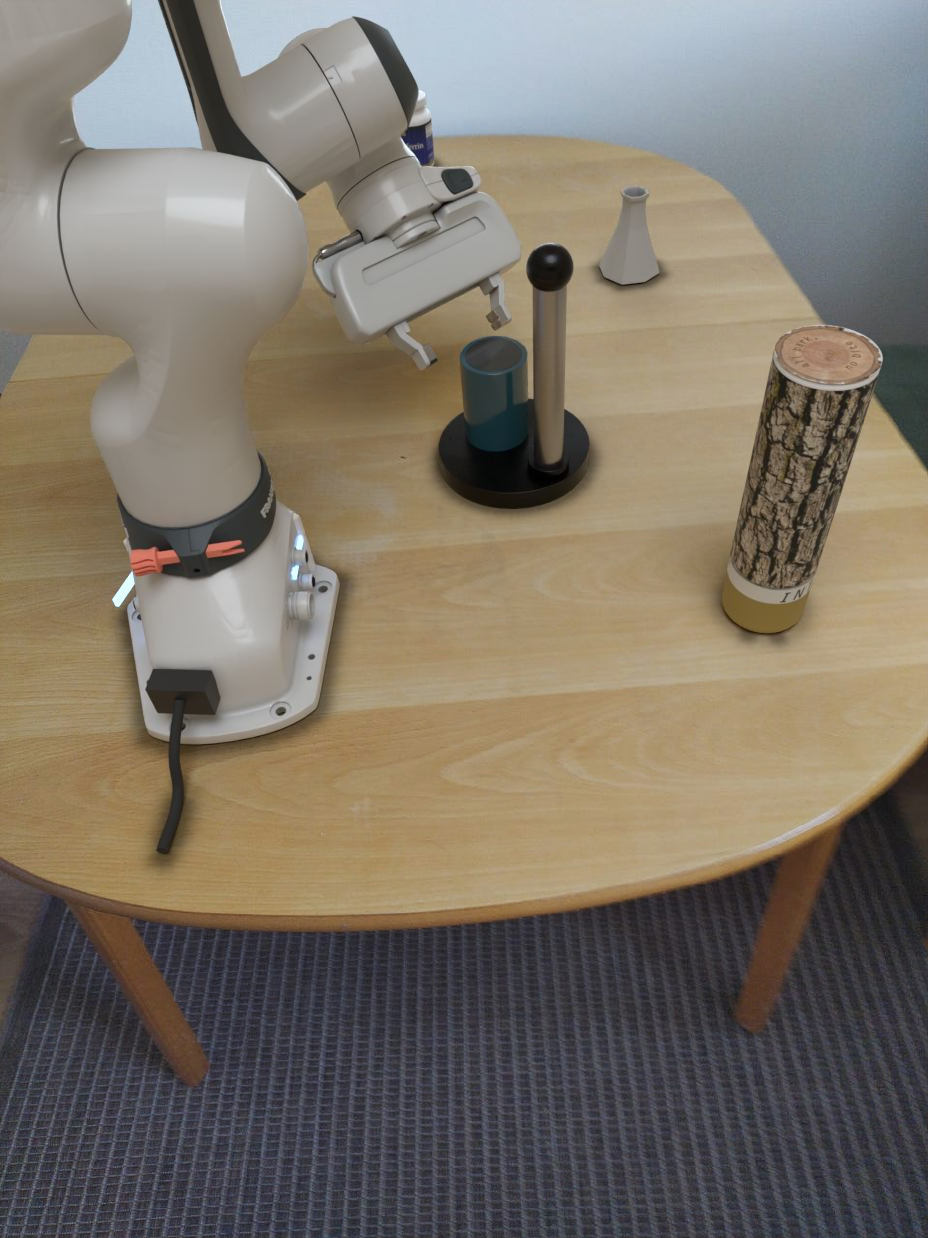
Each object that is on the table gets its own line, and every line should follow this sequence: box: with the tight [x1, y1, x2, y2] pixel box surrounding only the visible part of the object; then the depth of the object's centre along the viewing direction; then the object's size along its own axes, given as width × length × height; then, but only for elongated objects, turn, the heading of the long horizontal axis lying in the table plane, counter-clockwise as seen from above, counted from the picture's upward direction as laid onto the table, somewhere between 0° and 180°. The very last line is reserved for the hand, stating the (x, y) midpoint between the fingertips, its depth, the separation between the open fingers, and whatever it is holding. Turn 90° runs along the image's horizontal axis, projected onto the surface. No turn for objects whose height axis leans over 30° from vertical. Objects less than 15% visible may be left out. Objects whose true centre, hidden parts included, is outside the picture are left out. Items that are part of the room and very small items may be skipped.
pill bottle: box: [401, 89, 435, 167], centre depth 138 cm, size 6×6×10 cm
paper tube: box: [721, 324, 884, 634], centre depth 71 cm, size 7×7×25 cm
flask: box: [598, 184, 660, 285], centre depth 114 cm, size 7×7×10 cm
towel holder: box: [438, 242, 590, 510], centre depth 86 cm, size 15×15×24 cm
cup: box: [459, 335, 529, 452], centre depth 92 cm, size 6×6×9 cm
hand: (467, 345), depth 91 cm, fingers open, 8 cm apart
